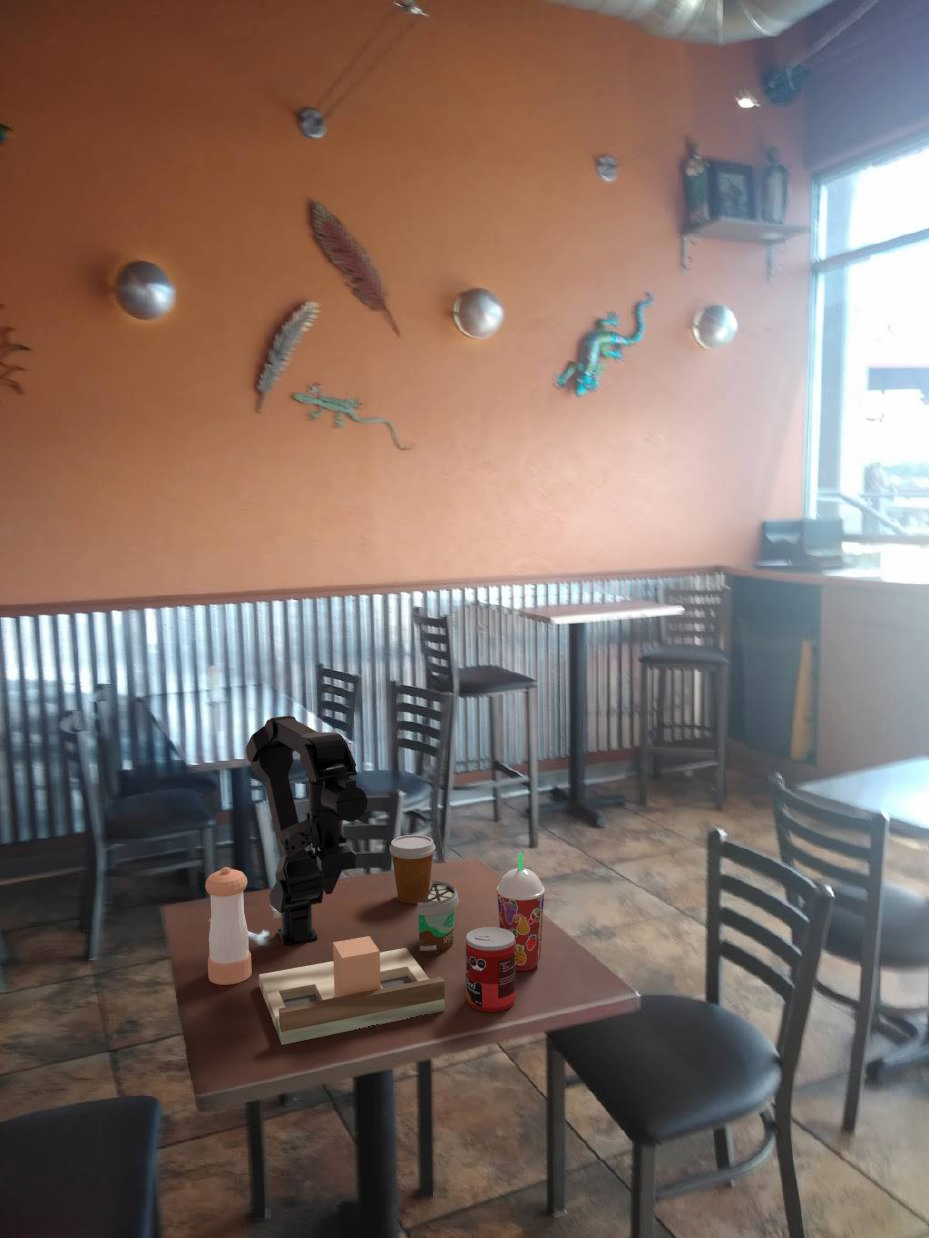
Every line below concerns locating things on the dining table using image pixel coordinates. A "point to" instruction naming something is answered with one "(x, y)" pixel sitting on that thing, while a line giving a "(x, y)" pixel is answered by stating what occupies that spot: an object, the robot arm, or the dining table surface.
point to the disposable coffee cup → (412, 866)
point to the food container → (437, 918)
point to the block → (356, 966)
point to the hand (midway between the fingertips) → (328, 893)
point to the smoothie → (522, 913)
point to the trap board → (348, 998)
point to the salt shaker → (228, 928)
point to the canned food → (490, 969)
